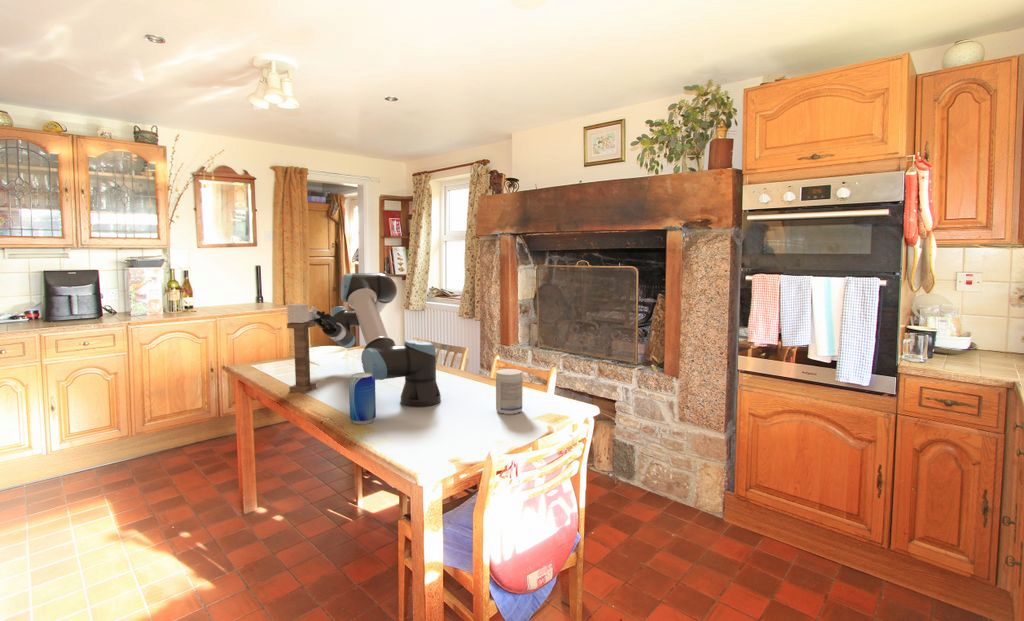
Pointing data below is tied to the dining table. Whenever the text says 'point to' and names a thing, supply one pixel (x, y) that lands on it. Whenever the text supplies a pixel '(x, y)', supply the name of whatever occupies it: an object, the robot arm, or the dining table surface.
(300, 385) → the walnut stand
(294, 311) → the grey block
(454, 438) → the dining table surface
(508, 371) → the supplement tub
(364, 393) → the beer can
